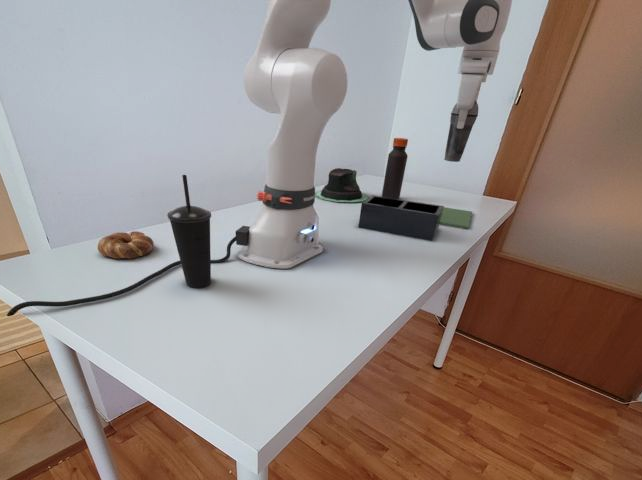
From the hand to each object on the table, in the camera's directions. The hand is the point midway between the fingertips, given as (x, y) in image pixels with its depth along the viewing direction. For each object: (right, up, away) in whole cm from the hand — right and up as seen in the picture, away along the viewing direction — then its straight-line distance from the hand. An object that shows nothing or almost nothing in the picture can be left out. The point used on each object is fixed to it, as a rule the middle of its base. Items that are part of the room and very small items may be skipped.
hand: (461, 127), depth 104 cm
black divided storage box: (-17, -27, +5) cm, 32 cm away
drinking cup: (-67, -50, -30) cm, 89 cm away
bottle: (-12, -6, +36) cm, 38 cm away
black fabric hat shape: (-30, -5, +35) cm, 46 cm away
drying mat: (+2, -19, +18) cm, 26 cm away
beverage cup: (0, -7, +5) cm, 9 cm away
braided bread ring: (-86, -41, -19) cm, 97 cm away
